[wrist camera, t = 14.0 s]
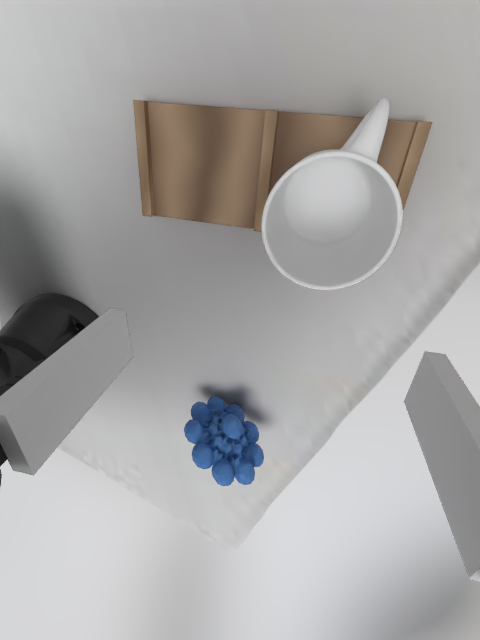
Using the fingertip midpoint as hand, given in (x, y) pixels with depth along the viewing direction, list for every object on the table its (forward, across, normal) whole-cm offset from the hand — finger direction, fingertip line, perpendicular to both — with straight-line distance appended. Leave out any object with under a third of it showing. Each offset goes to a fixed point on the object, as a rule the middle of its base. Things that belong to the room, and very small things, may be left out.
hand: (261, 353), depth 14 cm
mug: (+20, +4, +5) cm, 21 cm away
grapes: (+22, -5, -25) cm, 34 cm away
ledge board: (+22, -3, +6) cm, 23 cm away
